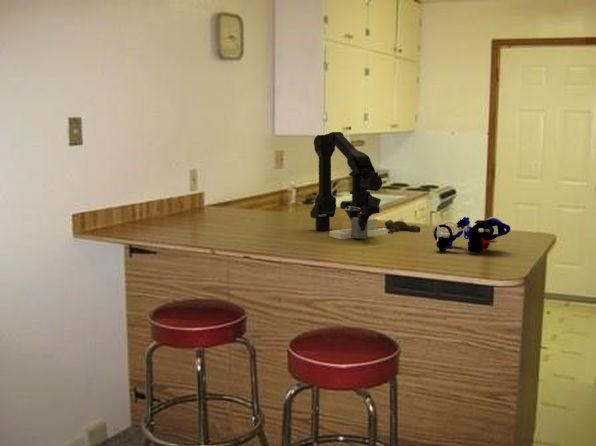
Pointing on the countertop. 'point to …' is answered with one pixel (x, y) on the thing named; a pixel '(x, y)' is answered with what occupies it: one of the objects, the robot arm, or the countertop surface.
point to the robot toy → (471, 233)
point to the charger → (357, 229)
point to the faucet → (400, 227)
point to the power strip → (347, 234)
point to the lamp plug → (372, 224)
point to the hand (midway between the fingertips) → (359, 229)
